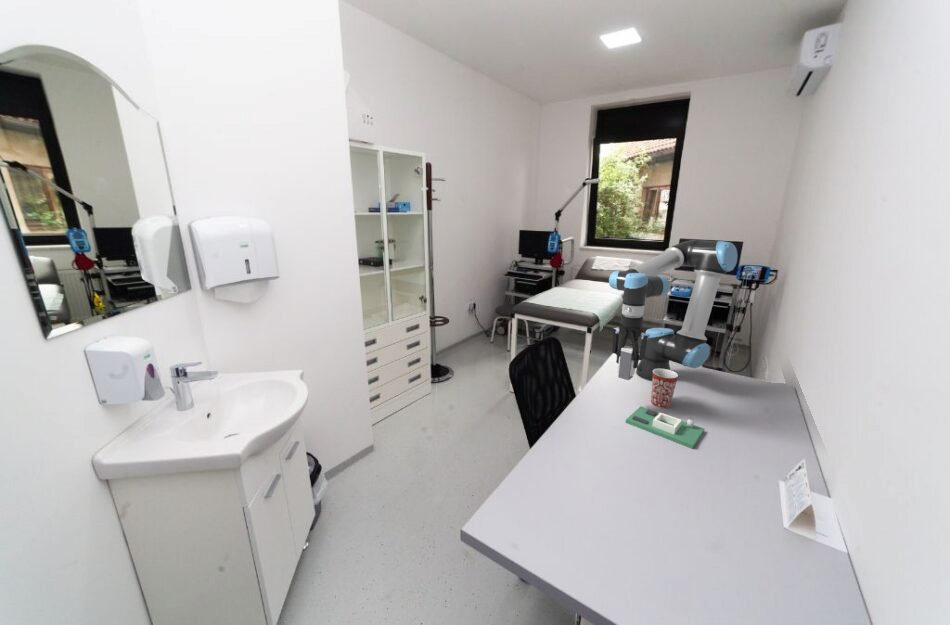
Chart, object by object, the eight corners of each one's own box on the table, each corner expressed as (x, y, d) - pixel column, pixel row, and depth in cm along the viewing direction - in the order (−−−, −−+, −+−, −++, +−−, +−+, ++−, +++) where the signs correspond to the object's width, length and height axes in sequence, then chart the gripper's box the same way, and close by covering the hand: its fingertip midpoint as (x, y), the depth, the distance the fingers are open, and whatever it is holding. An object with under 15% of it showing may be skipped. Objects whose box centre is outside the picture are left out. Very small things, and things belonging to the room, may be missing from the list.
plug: (622, 374, 144) (625, 345, 141) (632, 377, 142) (636, 348, 139) (618, 377, 142) (621, 348, 139) (628, 380, 139) (631, 351, 136)
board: (640, 408, 143) (641, 400, 142) (703, 431, 129) (705, 422, 128) (625, 422, 134) (626, 413, 133) (692, 448, 119) (694, 438, 118)
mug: (670, 411, 142) (676, 379, 138) (645, 404, 147) (650, 373, 143) (676, 399, 151) (681, 369, 148) (653, 393, 157) (657, 364, 153)
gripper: (605, 313, 138) (600, 369, 145) (652, 321, 127) (644, 383, 133) (614, 309, 144) (609, 364, 150) (660, 317, 132) (652, 376, 138)
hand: (625, 373), depth 141 cm, fingers closed on plug, 4 cm apart
